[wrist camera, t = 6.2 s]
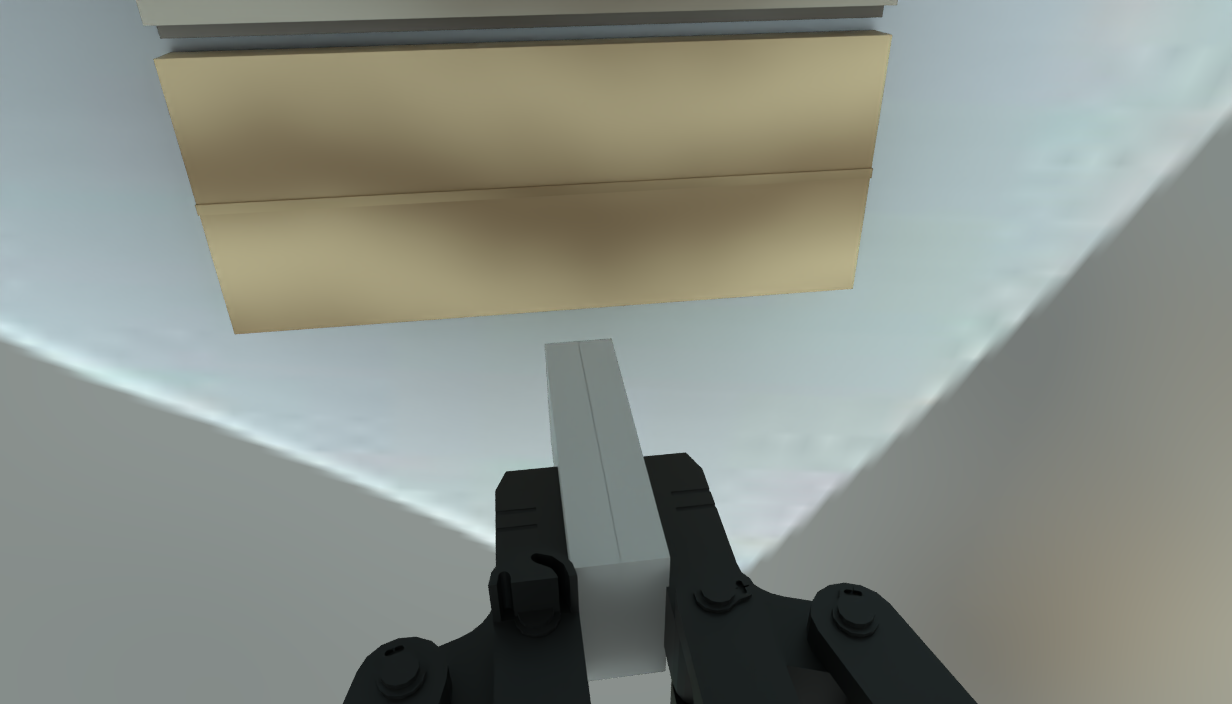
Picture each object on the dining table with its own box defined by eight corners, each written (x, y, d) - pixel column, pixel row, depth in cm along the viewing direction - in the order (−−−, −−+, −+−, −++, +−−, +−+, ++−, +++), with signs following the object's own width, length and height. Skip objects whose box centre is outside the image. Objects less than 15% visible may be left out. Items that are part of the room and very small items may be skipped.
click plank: (170, 52, 20) (151, 59, 19) (873, 30, 23) (893, 35, 22) (245, 316, 24) (233, 335, 23) (838, 274, 27) (853, 289, 26)
